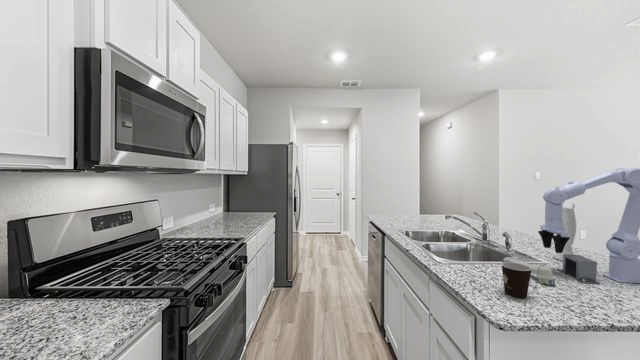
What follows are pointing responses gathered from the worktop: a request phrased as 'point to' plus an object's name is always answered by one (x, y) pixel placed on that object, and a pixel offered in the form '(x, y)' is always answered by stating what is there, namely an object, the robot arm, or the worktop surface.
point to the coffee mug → (516, 279)
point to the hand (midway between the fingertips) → (552, 250)
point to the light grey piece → (536, 271)
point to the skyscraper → (568, 230)
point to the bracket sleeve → (580, 268)
